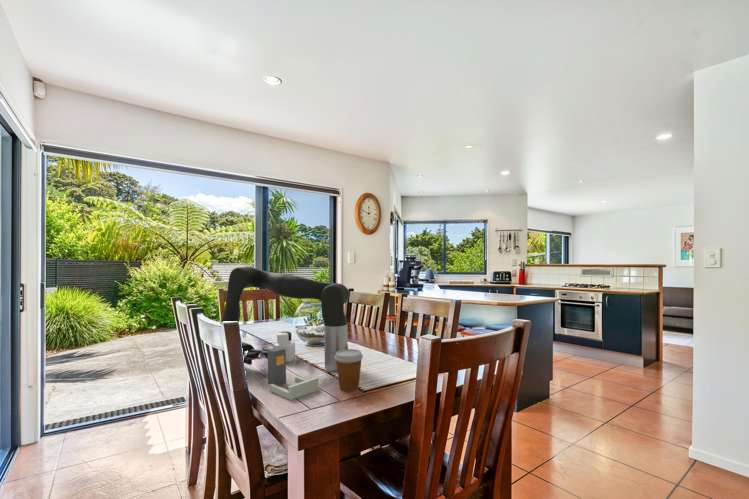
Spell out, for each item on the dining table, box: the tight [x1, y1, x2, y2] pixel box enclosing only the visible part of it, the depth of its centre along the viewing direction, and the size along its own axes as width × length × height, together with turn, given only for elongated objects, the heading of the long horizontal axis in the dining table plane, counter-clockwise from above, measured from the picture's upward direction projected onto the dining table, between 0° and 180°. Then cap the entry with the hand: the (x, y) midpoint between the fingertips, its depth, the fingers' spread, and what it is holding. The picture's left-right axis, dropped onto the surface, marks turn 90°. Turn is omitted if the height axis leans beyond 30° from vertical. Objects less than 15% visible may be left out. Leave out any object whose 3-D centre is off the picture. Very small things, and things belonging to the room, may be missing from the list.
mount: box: [269, 375, 320, 401], centre depth 124 cm, size 12×11×4 cm
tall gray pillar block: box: [267, 347, 287, 386], centre depth 131 cm, size 5×4×12 cm
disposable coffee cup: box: [335, 348, 364, 393], centre depth 125 cm, size 10×10×12 cm
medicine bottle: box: [272, 331, 296, 364], centre depth 160 cm, size 7×7×12 cm
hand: (261, 359), depth 138 cm, fingers open, 8 cm apart
